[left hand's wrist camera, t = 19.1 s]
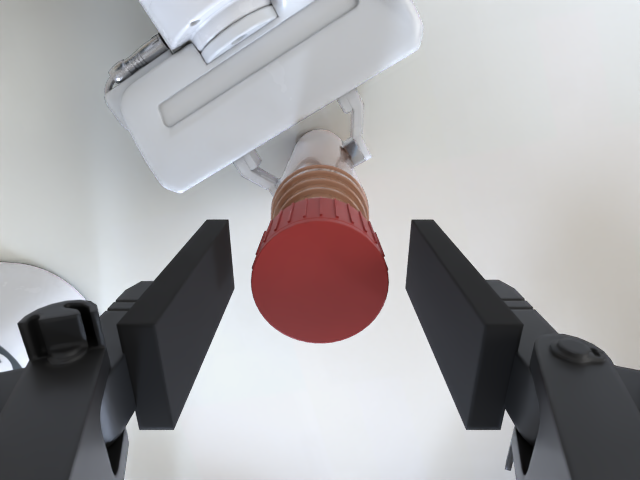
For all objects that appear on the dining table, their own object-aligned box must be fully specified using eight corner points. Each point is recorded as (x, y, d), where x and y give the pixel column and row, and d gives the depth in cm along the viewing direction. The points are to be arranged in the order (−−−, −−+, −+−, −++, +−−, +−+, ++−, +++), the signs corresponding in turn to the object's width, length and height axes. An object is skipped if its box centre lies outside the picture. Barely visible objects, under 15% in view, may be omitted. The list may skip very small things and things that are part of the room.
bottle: (282, 162, 35) (218, 290, 13) (314, 117, 33) (303, 174, 11) (325, 193, 36) (333, 361, 14) (357, 151, 34) (424, 263, 12)
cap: (386, 199, 14) (400, 224, 11) (371, 307, 15) (381, 349, 13) (262, 191, 13) (249, 213, 11) (260, 300, 15) (248, 341, 13)
